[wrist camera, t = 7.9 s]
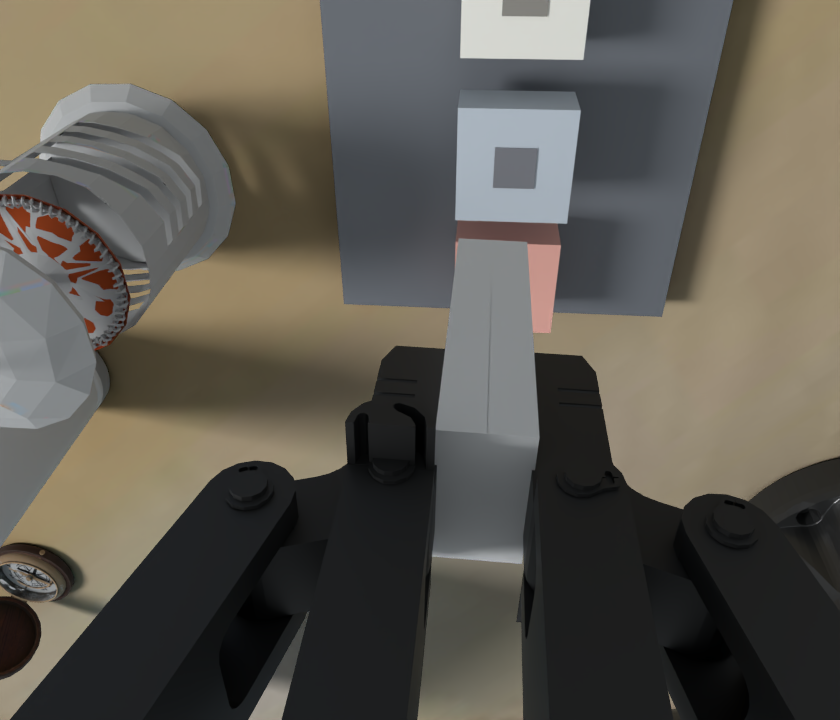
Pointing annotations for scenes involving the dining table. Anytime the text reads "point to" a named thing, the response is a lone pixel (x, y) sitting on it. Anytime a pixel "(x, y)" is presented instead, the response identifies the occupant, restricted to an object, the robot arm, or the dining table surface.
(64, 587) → the compass
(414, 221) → the keyboard base
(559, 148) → the grey key
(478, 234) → the pink cube
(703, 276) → the dining table surface
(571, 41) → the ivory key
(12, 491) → the travel mug
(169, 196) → the french press
